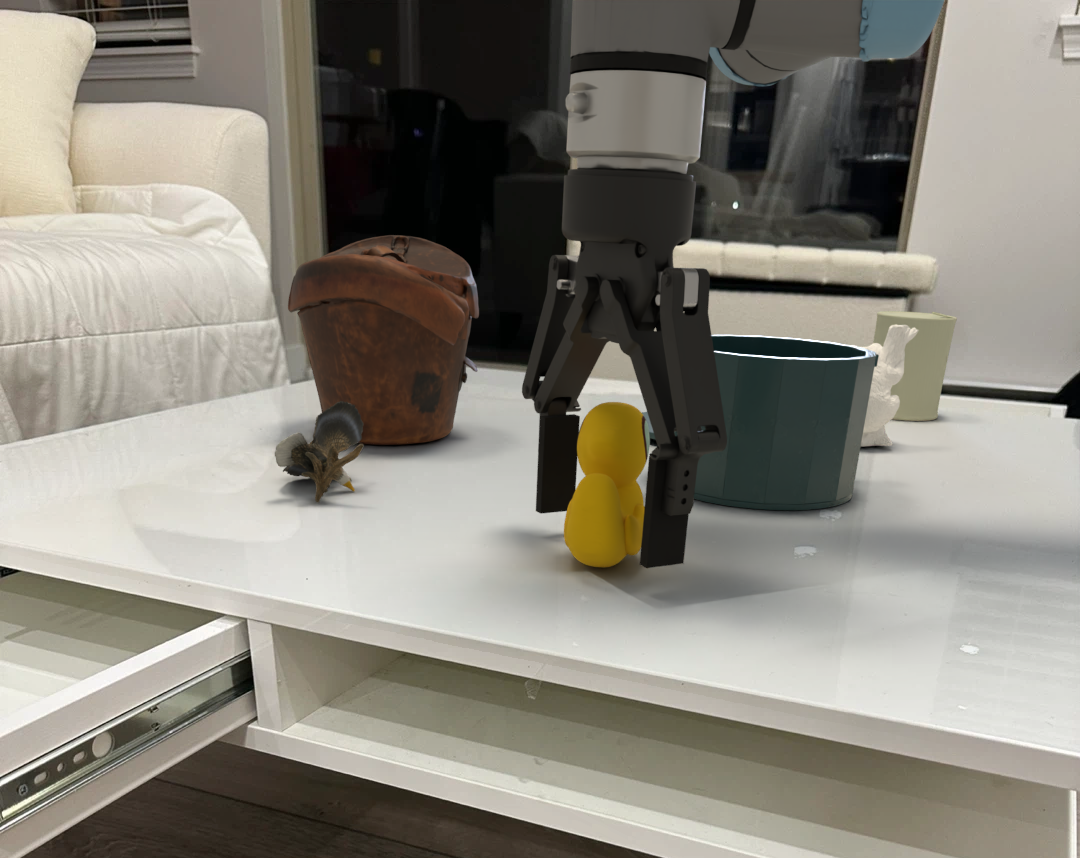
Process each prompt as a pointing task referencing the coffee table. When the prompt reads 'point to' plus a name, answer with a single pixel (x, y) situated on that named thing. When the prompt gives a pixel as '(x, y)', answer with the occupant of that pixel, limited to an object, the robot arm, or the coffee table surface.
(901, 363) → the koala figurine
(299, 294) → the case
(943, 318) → the green tapered cup
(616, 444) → the duckling
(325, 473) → the eagle figurine
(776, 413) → the pot
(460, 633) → the coffee table surface
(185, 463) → the coffee table surface
